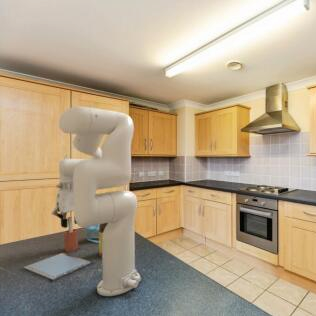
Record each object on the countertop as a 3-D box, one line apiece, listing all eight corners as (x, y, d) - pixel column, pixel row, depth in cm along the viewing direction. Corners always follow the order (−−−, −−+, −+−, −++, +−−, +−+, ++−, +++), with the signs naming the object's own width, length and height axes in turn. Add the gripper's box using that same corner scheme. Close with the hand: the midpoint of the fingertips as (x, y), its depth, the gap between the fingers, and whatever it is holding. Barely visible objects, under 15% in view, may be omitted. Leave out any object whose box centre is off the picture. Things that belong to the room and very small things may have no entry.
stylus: (75, 248, 97) (72, 216, 97) (72, 250, 95) (68, 217, 96) (73, 248, 97) (70, 216, 98) (70, 250, 96) (66, 217, 97)
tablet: (91, 263, 85) (91, 261, 85) (52, 281, 73) (52, 278, 73) (62, 254, 93) (62, 252, 93) (23, 269, 81) (23, 266, 81)
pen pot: (80, 249, 98) (79, 230, 98) (68, 253, 94) (68, 233, 94) (74, 247, 100) (73, 228, 100) (62, 251, 95) (62, 232, 95)
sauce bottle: (107, 258, 89) (106, 211, 89) (95, 257, 90) (94, 211, 90) (119, 251, 95) (118, 207, 95) (107, 250, 97) (106, 207, 96)
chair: (95, 237, 112) (95, 214, 112) (109, 237, 111) (109, 215, 111) (82, 243, 105) (82, 219, 105) (97, 243, 104) (97, 219, 103)
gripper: (52, 189, 87) (53, 232, 87) (94, 184, 102) (95, 221, 103) (42, 188, 90) (43, 230, 90) (84, 183, 105) (85, 219, 106)
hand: (71, 225), depth 97 cm, fingers open, 4 cm apart
